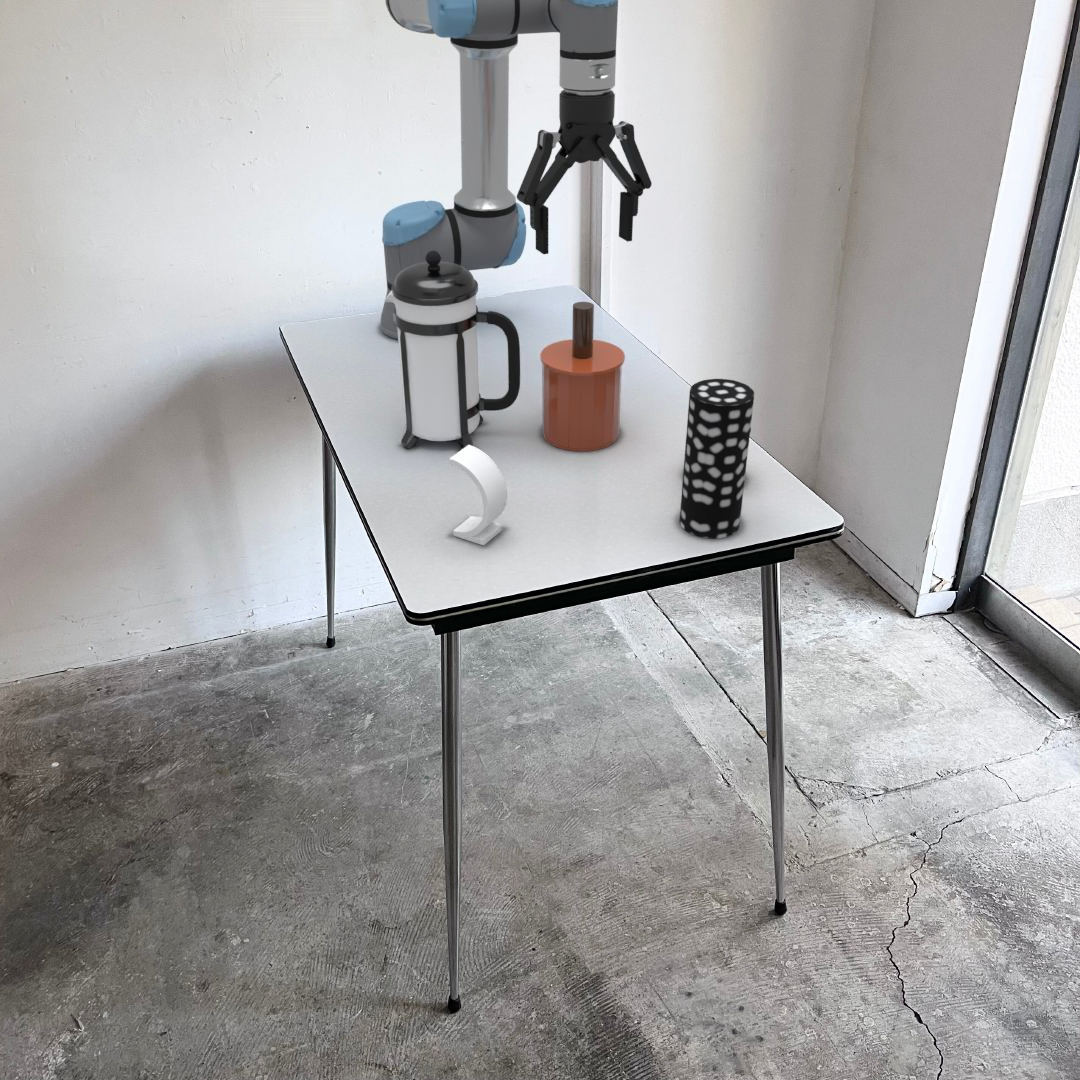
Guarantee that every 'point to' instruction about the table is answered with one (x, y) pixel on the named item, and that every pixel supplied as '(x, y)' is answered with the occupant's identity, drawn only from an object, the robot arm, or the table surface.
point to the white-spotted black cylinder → (715, 457)
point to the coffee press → (444, 351)
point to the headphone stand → (482, 494)
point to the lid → (582, 348)
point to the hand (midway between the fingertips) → (584, 245)
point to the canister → (581, 409)
